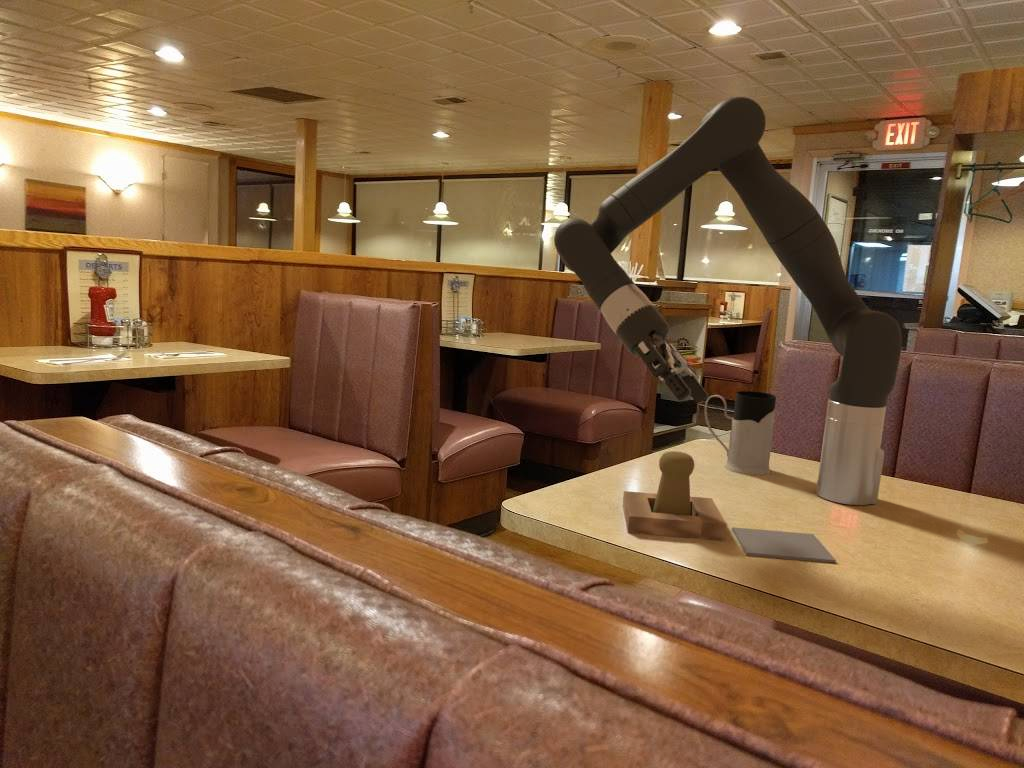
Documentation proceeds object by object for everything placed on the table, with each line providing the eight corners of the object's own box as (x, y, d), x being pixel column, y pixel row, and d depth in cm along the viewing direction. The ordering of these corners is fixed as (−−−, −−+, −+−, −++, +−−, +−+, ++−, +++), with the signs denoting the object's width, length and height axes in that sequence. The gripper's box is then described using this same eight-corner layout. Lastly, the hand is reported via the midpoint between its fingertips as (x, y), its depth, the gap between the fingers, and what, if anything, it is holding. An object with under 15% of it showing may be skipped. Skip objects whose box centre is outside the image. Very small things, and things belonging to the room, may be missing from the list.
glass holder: (763, 478, 144) (773, 400, 141) (691, 463, 151) (699, 389, 149) (775, 468, 151) (784, 395, 148) (706, 455, 158) (713, 384, 156)
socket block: (710, 513, 121) (711, 498, 121) (724, 540, 109) (726, 524, 109) (622, 505, 122) (623, 491, 122) (627, 532, 110) (629, 516, 110)
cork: (691, 531, 112) (698, 460, 110) (650, 526, 113) (657, 455, 112) (690, 518, 118) (697, 450, 116) (651, 513, 119) (657, 446, 117)
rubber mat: (812, 536, 113) (813, 534, 113) (835, 563, 103) (835, 560, 103) (731, 529, 114) (732, 527, 114) (746, 555, 104) (746, 552, 104)
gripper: (635, 296, 114) (700, 380, 108) (667, 310, 126) (727, 386, 120) (598, 329, 116) (660, 412, 110) (633, 339, 128) (690, 415, 123)
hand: (694, 398), depth 115 cm, fingers open, 8 cm apart
